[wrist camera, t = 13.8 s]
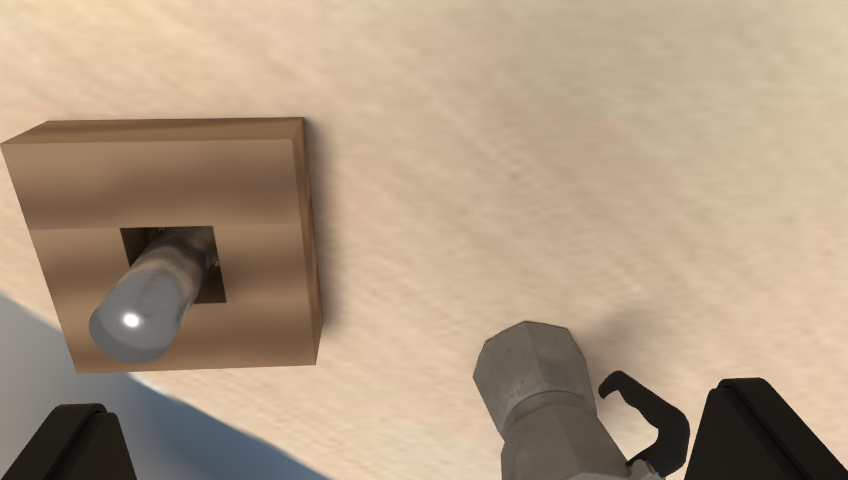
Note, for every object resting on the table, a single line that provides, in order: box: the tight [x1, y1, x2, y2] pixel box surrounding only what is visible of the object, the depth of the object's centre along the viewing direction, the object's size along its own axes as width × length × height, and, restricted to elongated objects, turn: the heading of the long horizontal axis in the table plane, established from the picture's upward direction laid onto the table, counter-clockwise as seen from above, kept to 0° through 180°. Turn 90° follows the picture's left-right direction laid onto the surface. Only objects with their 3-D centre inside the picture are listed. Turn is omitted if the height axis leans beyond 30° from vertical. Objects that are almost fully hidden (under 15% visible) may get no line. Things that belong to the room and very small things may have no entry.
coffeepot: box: [473, 322, 690, 480], centre depth 39 cm, size 15×9×18 cm, turn 143°
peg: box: [89, 226, 219, 364], centre depth 35 cm, size 4×4×12 cm
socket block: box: [0, 117, 323, 374], centre depth 38 cm, size 16×16×5 cm
